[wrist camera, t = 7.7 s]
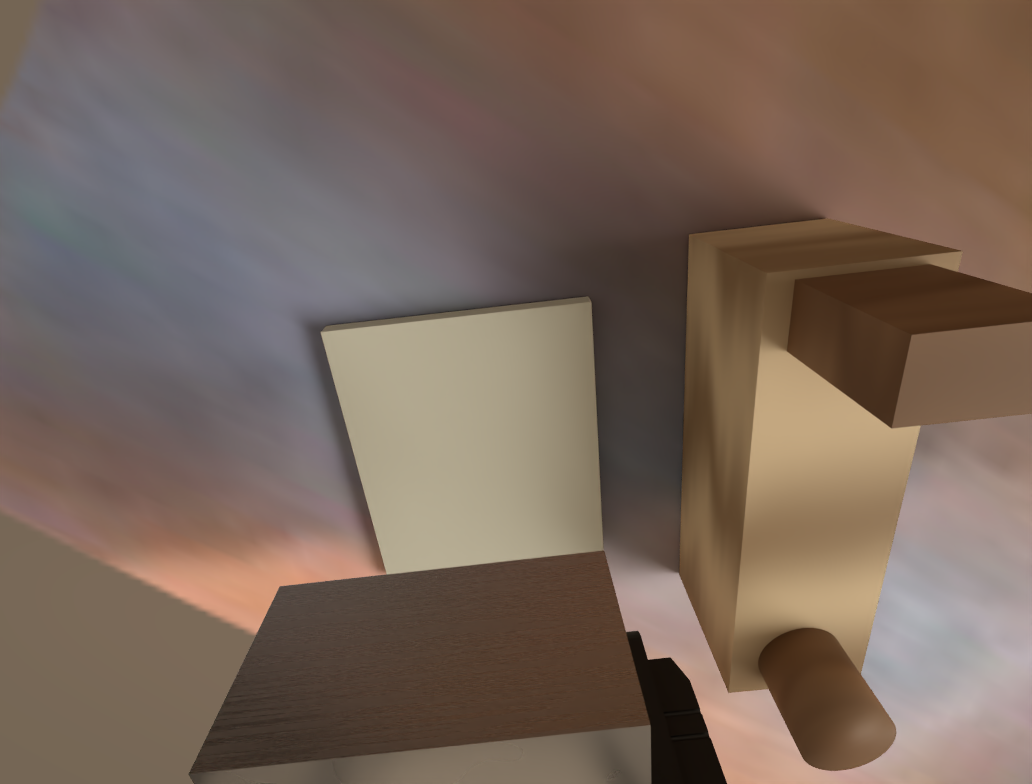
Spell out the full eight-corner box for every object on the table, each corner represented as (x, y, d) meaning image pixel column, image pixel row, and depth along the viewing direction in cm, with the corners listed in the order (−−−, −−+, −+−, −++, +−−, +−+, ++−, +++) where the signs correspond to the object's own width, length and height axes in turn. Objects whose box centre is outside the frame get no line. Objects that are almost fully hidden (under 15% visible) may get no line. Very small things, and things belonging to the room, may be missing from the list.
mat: (326, 325, 17) (320, 332, 16) (588, 296, 16) (591, 301, 16) (392, 574, 21) (389, 586, 20) (601, 552, 21) (604, 564, 20)
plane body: (688, 234, 16) (873, 326, 8) (827, 218, 16) (1148, 296, 8) (679, 574, 21) (783, 822, 14) (781, 563, 21) (944, 807, 13)
